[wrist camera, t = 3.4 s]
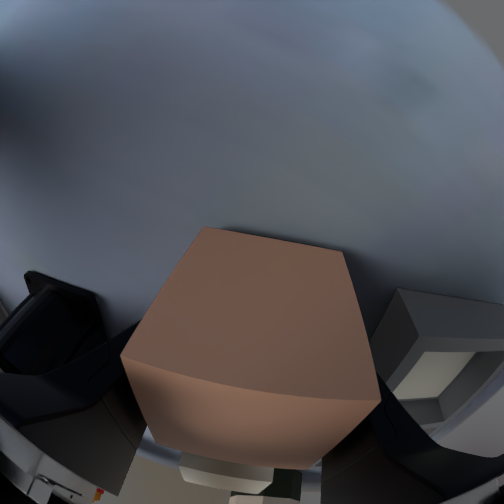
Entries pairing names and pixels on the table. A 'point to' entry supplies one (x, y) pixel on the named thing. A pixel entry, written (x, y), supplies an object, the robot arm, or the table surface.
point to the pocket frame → (437, 354)
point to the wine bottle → (274, 490)
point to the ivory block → (224, 474)
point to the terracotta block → (253, 353)
